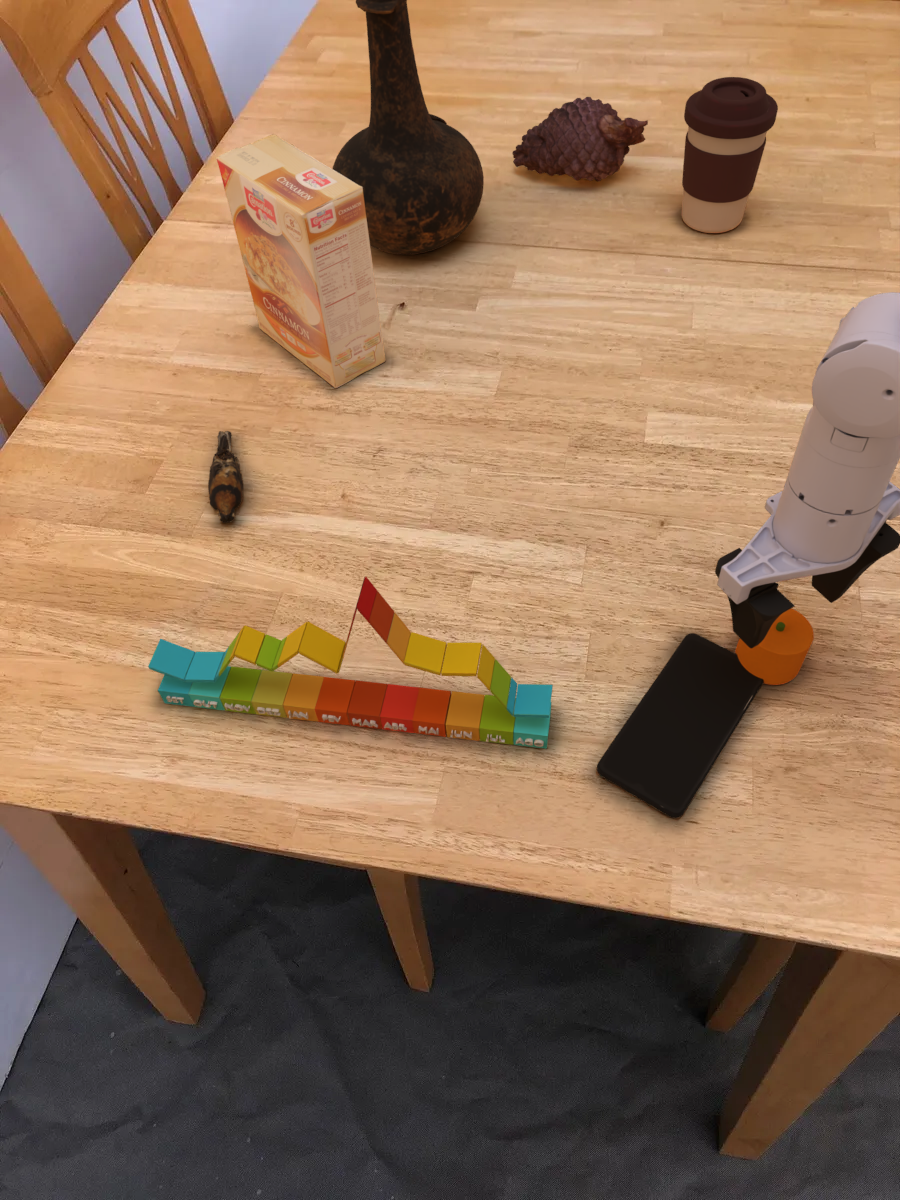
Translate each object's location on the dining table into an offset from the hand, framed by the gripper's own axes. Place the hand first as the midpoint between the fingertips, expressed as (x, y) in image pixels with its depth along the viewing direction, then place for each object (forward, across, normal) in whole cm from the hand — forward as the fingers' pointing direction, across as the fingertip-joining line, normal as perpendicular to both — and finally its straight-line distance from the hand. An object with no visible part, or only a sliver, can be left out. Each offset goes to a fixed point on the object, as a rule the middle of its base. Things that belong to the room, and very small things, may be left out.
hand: (785, 614), depth 68 cm
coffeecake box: (+6, +12, -57) cm, 59 cm away
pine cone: (+6, -32, -71) cm, 78 cm away
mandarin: (+6, 0, 0) cm, 6 cm away
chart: (+6, +30, -13) cm, 33 cm away
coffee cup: (+6, -38, -53) cm, 65 cm away
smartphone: (+6, +9, +1) cm, 11 cm away
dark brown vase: (+6, -7, -71) cm, 71 cm away
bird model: (+6, +29, -43) cm, 52 cm away
